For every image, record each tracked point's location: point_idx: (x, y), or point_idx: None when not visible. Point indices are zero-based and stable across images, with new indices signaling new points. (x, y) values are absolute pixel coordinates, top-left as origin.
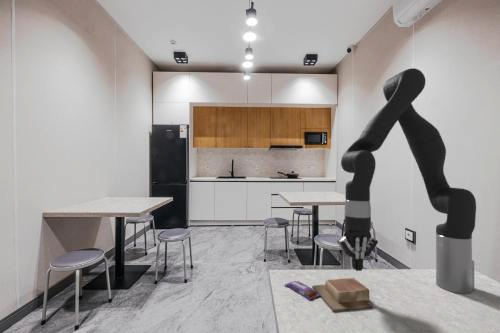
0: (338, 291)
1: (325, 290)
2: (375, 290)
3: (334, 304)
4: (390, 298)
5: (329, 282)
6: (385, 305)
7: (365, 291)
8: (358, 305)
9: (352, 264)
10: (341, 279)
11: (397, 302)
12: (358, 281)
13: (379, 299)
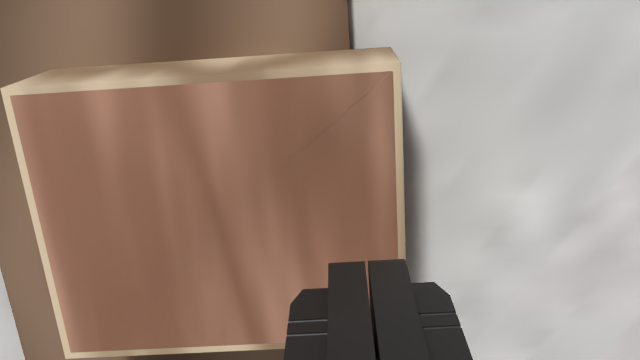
0: (76, 343)
1: None
2: (599, 95)
3: None
4: (626, 245)
5: (34, 157)
6: (496, 334)
7: None
8: (256, 354)
9: (288, 325)
10: (213, 93)
11: (633, 305)
12: (401, 164)
13: (513, 251)
